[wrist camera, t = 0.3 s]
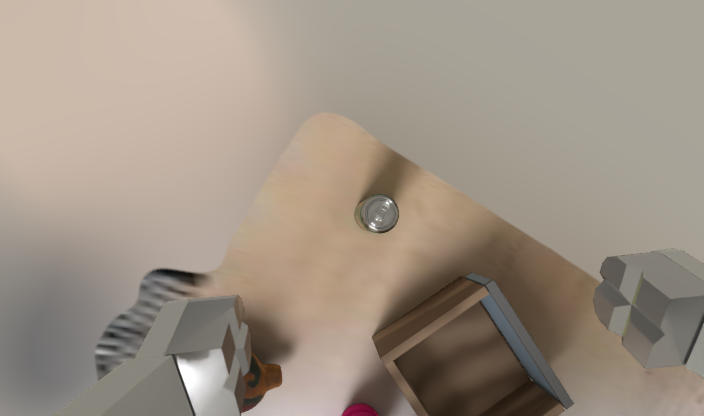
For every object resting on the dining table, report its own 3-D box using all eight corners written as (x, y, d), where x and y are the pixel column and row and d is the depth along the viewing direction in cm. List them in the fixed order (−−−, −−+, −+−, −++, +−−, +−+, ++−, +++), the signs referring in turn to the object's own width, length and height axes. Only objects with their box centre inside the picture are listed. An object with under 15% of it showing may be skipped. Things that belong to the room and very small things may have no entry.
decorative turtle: (181, 339, 60) (159, 358, 52) (282, 330, 61) (275, 346, 53) (185, 404, 60) (163, 433, 52) (287, 394, 61) (281, 420, 53)
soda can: (348, 220, 62) (353, 220, 50) (364, 192, 62) (373, 186, 50) (375, 237, 62) (387, 241, 50) (392, 209, 62) (407, 206, 50)
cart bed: (529, 381, 63) (564, 410, 54) (441, 444, 62) (462, 484, 52) (460, 276, 63) (484, 286, 53) (371, 337, 62) (380, 358, 52)
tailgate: (541, 379, 62) (574, 403, 54) (535, 384, 62) (566, 409, 54) (472, 272, 61) (493, 280, 53) (465, 277, 61) (485, 285, 53)
